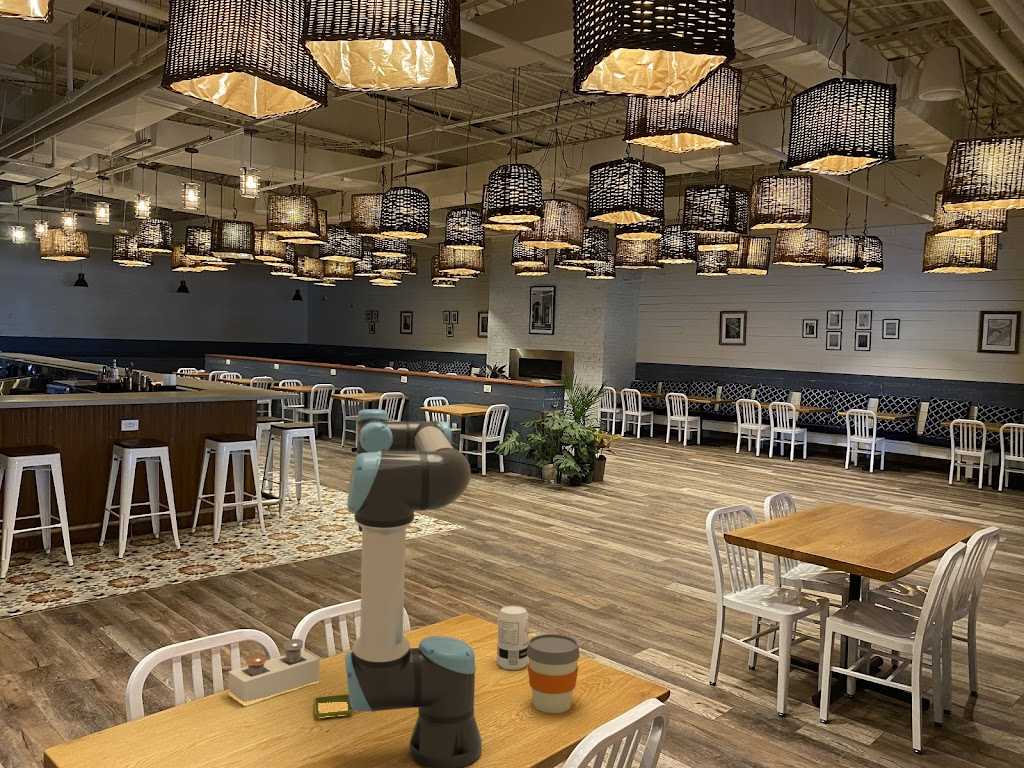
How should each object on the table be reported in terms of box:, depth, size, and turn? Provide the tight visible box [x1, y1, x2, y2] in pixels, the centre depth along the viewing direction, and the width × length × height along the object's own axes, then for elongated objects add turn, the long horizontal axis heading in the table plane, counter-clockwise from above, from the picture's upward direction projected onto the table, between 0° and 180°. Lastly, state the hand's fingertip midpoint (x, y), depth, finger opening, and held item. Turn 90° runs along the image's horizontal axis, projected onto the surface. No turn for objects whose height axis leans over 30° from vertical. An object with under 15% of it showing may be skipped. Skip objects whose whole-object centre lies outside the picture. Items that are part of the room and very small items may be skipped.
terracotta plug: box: [245, 653, 267, 677], centre depth 192 cm, size 5×5×8 cm
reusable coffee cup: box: [527, 633, 580, 714], centre depth 190 cm, size 13×13×15 cm
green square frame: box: [313, 693, 355, 718], centre depth 185 cm, size 9×9×2 cm
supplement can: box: [496, 605, 530, 671], centre depth 213 cm, size 8×8×15 cm
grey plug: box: [283, 638, 304, 665], centre depth 199 cm, size 5×5×8 cm
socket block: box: [227, 649, 320, 702], centre depth 196 cm, size 20×8×6 cm, turn 135°
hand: (370, 560), depth 205 cm, fingers closed
